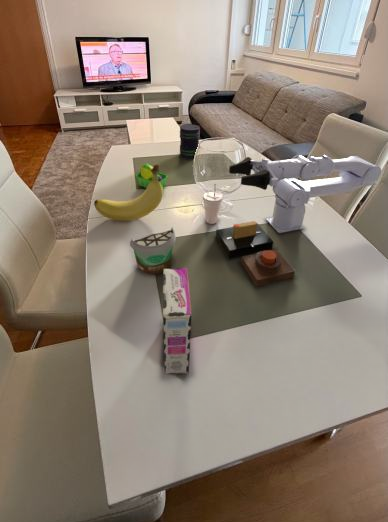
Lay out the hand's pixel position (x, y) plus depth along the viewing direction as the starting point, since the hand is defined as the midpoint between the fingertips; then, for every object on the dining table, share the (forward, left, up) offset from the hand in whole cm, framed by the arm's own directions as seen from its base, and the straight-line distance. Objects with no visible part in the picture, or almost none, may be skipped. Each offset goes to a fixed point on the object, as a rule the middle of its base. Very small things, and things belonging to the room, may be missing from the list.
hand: (235, 175), depth 84 cm
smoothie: (+3, -9, -21) cm, 23 cm away
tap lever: (-2, +5, -18) cm, 19 cm away
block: (-3, +17, -21) cm, 27 cm away
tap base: (-2, +5, -21) cm, 22 cm away
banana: (+29, -18, -21) cm, 40 cm away
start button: (-3, +17, -18) cm, 25 cm away
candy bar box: (+26, +31, -21) cm, 45 cm away
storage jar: (-7, -66, -21) cm, 70 cm away
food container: (+25, +8, -21) cm, 34 cm away
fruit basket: (+18, -38, -21) cm, 47 cm away
